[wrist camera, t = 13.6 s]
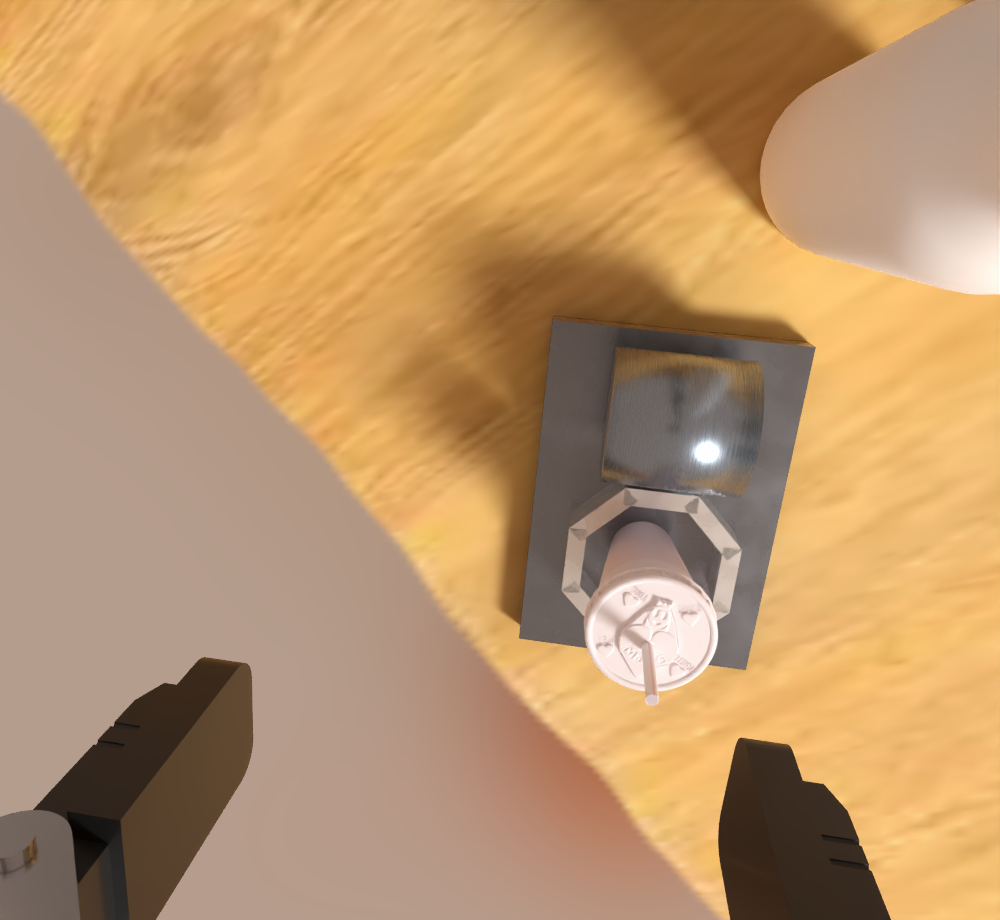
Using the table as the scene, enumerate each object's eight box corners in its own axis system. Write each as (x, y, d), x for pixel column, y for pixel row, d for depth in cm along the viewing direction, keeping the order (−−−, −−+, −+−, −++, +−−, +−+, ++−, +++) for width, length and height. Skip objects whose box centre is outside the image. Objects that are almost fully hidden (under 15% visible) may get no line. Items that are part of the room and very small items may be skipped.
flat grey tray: (554, 316, 44) (543, 342, 36) (808, 342, 43) (855, 375, 35) (521, 626, 51) (506, 706, 43) (741, 656, 50) (768, 745, 42)
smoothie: (573, 581, 48) (562, 727, 35) (605, 486, 46) (606, 603, 32) (676, 611, 48) (703, 770, 34) (712, 517, 45) (757, 648, 32)
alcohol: (958, 79, 38) (1949, -247, 10) (913, 263, 41) (1586, 410, 13) (774, 66, 39) (1219, -271, 11) (742, 248, 42) (1028, 353, 14)
